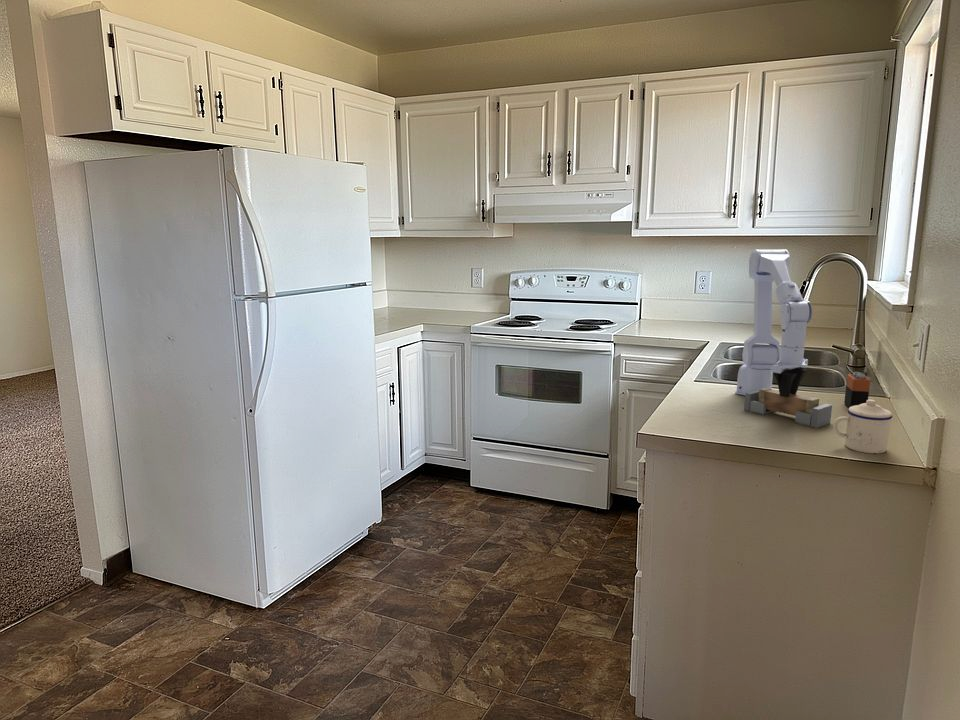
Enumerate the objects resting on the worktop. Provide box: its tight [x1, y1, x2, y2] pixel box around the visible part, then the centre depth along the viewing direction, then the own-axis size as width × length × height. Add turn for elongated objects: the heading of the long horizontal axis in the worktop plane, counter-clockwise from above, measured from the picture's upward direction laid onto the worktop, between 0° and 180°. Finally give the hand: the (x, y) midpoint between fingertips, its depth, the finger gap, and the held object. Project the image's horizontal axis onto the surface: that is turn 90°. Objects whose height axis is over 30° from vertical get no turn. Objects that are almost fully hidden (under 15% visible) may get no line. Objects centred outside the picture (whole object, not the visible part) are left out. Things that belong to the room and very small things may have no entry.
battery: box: [843, 371, 871, 409], centre depth 188 cm, size 4×7×10 cm, turn 165°
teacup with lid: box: [832, 398, 893, 454], centre depth 155 cm, size 12×9×12 cm
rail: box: [758, 388, 820, 417], centre depth 179 cm, size 15×3×5 cm, turn 37°
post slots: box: [743, 389, 833, 429], centre depth 180 cm, size 21×7×5 cm, turn 37°
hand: (787, 395), depth 179 cm, fingers closed on rail, 3 cm apart
